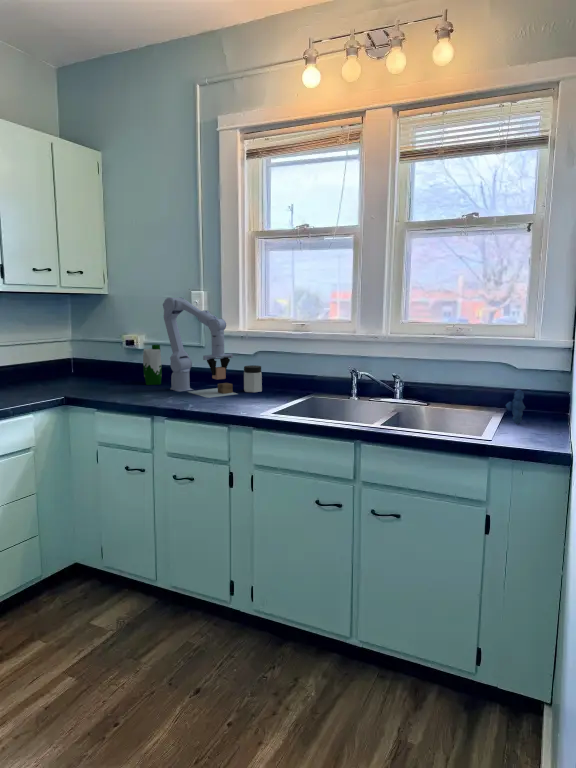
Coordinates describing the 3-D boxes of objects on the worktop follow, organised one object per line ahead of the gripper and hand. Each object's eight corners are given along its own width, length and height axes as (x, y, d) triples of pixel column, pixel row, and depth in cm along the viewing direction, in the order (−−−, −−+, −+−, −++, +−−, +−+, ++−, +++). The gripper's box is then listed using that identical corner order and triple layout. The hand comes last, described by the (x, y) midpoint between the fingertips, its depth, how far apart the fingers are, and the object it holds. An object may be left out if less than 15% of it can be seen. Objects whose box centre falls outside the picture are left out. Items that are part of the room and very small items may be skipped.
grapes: (504, 418, 199) (506, 386, 197) (524, 420, 196) (527, 387, 194) (503, 425, 188) (505, 391, 186) (524, 427, 185) (526, 392, 183)
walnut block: (217, 392, 251) (217, 383, 250) (227, 391, 254) (226, 382, 253) (223, 393, 247) (223, 385, 246) (232, 392, 250) (232, 384, 249)
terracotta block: (212, 378, 249) (212, 367, 248) (220, 377, 252) (220, 366, 251) (217, 379, 245) (216, 368, 244) (225, 378, 248) (225, 367, 247)
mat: (187, 392, 253) (187, 391, 253) (216, 388, 262) (216, 388, 262) (208, 398, 237) (208, 397, 237) (238, 394, 247) (238, 393, 247)
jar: (243, 390, 259) (242, 365, 257) (259, 389, 261) (259, 365, 259) (245, 393, 250) (245, 367, 248) (262, 392, 252) (262, 367, 250)
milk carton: (162, 384, 275) (161, 345, 272) (144, 385, 273) (142, 346, 270) (161, 382, 284) (160, 344, 281) (143, 382, 281) (142, 344, 278)
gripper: (208, 346, 239) (209, 377, 241) (236, 344, 247) (236, 374, 249) (200, 345, 244) (201, 375, 246) (228, 343, 253) (228, 372, 255)
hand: (218, 374), depth 248 cm, fingers closed on terracotta block, 4 cm apart
